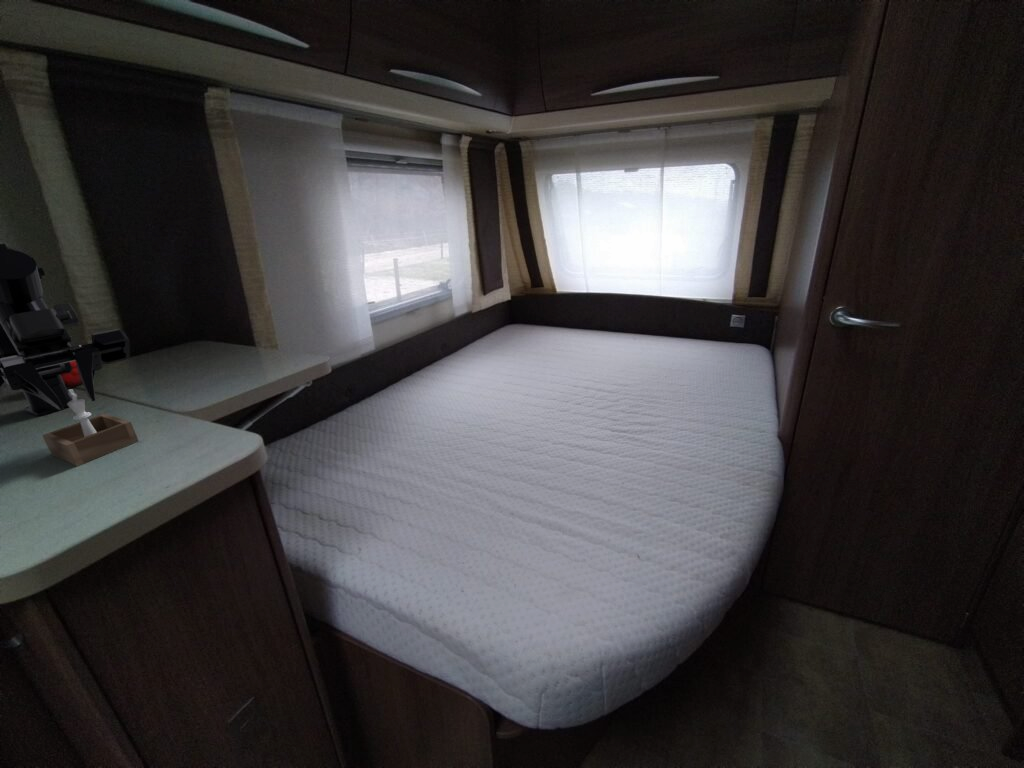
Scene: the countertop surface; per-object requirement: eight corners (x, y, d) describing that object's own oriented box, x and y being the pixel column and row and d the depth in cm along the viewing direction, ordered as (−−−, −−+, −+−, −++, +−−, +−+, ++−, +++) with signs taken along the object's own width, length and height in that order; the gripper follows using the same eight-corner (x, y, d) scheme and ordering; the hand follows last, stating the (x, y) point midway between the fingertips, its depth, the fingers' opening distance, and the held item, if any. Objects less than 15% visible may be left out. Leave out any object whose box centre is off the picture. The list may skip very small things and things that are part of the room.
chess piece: (83, 458, 68) (55, 398, 64) (70, 451, 70) (42, 393, 66) (122, 443, 72) (97, 386, 68) (108, 437, 74) (83, 381, 70)
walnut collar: (52, 455, 69) (42, 435, 68) (112, 432, 76) (104, 413, 74) (77, 466, 66) (67, 445, 64) (138, 441, 72) (130, 421, 71)
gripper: (-84, 301, 57) (-29, 400, 55) (102, 278, 70) (152, 356, 68) (-58, 351, 64) (-8, 439, 62) (106, 321, 78) (151, 392, 76)
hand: (77, 404), depth 67 cm, fingers open, 3 cm apart
